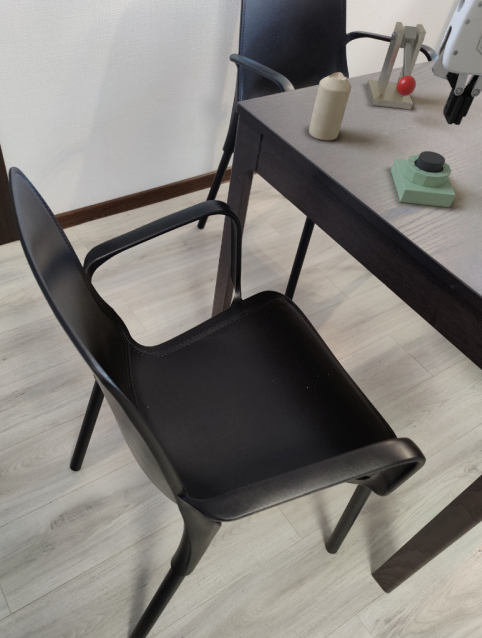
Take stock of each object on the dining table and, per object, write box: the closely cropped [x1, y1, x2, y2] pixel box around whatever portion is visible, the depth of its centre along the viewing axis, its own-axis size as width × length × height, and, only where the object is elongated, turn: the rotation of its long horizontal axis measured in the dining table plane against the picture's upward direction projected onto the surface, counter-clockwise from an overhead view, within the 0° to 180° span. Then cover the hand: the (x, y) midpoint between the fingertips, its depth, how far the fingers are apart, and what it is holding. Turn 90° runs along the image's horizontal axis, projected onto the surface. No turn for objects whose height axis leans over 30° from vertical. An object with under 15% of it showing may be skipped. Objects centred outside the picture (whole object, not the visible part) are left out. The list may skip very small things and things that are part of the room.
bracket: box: [366, 21, 427, 110], centre depth 101 cm, size 10×8×13 cm
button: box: [416, 150, 446, 173], centre depth 80 cm, size 4×4×2 cm
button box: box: [390, 153, 456, 208], centre depth 82 cm, size 8×10×4 cm
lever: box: [396, 25, 417, 96], centre depth 96 cm, size 14×3×3 cm, turn 175°
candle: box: [308, 71, 352, 141], centre depth 90 cm, size 6×6×10 cm
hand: (451, 120), depth 75 cm, fingers closed
